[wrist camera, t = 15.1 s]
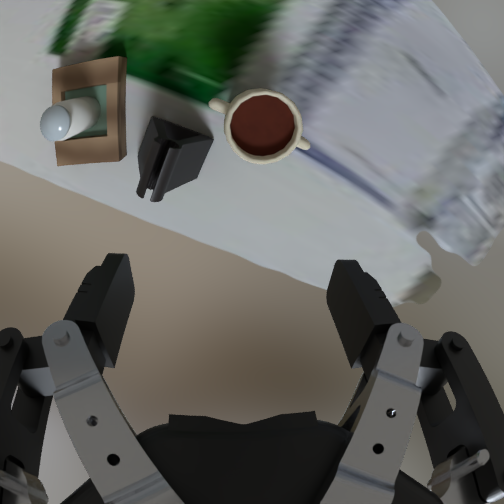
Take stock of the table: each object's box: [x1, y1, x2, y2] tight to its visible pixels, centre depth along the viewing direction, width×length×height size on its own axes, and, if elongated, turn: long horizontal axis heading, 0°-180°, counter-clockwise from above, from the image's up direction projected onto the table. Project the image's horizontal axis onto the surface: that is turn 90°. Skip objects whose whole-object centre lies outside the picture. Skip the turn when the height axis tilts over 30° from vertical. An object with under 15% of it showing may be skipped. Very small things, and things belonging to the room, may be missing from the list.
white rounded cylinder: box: [40, 96, 101, 141], centre depth 26 cm, size 5×5×8 cm
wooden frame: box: [52, 56, 127, 166], centre depth 30 cm, size 14×10×3 cm
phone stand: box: [136, 117, 214, 202], centre depth 31 cm, size 9×6×12 cm, turn 64°
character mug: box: [209, 88, 310, 164], centre depth 29 cm, size 11×7×13 cm, turn 65°
